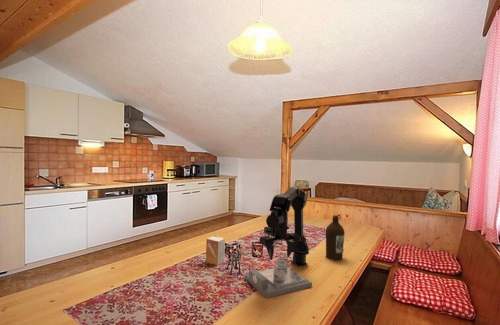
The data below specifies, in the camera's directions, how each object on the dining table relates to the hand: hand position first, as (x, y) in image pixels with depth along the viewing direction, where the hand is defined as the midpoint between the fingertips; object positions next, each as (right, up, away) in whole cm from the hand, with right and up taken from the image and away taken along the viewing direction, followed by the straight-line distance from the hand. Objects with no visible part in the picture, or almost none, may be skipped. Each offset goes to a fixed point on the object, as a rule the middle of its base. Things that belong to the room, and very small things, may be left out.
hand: (279, 258), depth 121 cm
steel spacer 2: (0, -10, 0) cm, 10 cm away
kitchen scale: (-1, -13, +5) cm, 14 cm away
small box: (-32, -12, +26) cm, 43 cm away
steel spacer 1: (+2, -10, +12) cm, 16 cm away
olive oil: (+37, -14, +39) cm, 55 cm away
